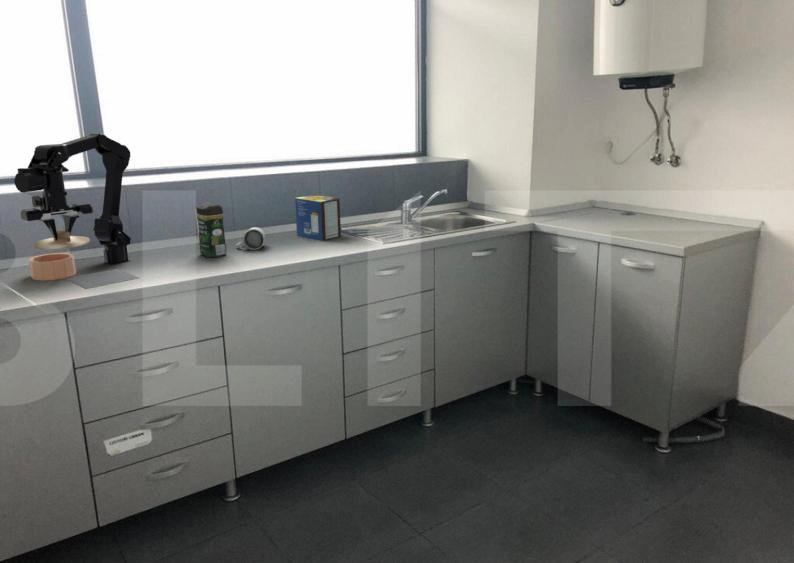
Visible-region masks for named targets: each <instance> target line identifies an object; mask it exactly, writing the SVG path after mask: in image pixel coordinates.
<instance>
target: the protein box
mask: <svg viewBox="0 0 794 563" xmlns="http://www.w3.org/2000/svg"><path fill="white" fill-rule="evenodd" d="M294 201H295V202H294V203H295V220H296V221H295V222H296V224H295V225H296V236H297V237H302V238H307V239H310V240H311V239H312V240H317V241H327V240H330V239H335V238H340V237H342V232H341V231H342V228H341V226H342V224H341V204H340V203H341V201H340V198H339V197H333V196H325V195H324V196H323V195H316V194H312V195H306V196H305V195H304V196H299V197H298V196H297V197H294Z"/></svg>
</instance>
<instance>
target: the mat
mask: <svg viewBox="0 0 794 563" xmlns="http://www.w3.org/2000/svg"><path fill="white" fill-rule="evenodd" d="M65 279H66V280H67V281H70V282H71V283H74V284H75V285H77V286H79V287H81V288H83V289H85V290H87V289H93V288H98V287H103V286H108V285H112V284H113V285H114V284H117V283H123V282H127V281H131V280H132V281H133V280H137V279H140V276H136V275H135V274H131V273H130V272H127V271H125V270H122V269H120V268H115V269H108V270H104V271H98V272H97V271H96V272H93V273H88V274H81V275H76V276H70V277H67V278H65Z"/></svg>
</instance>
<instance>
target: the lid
mask: <svg viewBox="0 0 794 563" xmlns="http://www.w3.org/2000/svg"><path fill="white" fill-rule="evenodd" d="M56 231H57V241H56V240H55V239H54V238H53V237H49V238H44V239H41V240H38V241H35V242H34V243H33V244H34V248H36V249H38V250H64V249H71V248H75V247H76V248H77V247H81V246H82V247H83V246H85V245H87V244H89V243H90V242H91V239H90V237H87V236H84V235H71V234H70V233H69V232H68V231H65V229H59V230H57V229H56Z"/></svg>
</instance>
